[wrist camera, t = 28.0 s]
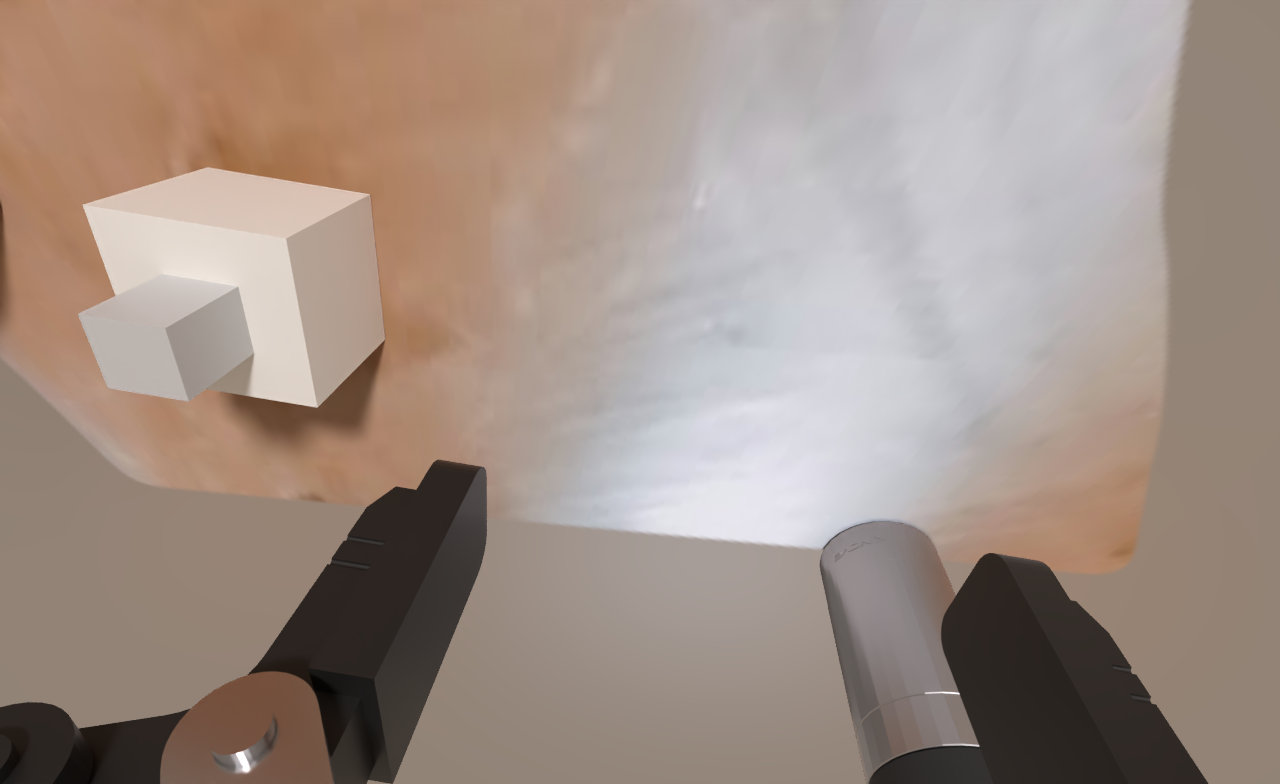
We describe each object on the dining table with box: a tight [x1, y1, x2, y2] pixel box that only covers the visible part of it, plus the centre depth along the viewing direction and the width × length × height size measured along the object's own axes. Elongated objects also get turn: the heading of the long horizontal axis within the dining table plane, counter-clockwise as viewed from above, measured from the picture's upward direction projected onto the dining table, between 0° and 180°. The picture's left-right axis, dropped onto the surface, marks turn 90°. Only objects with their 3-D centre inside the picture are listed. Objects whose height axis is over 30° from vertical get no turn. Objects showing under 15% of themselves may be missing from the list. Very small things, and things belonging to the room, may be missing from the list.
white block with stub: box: [78, 167, 385, 408], centre depth 34 cm, size 10×10×14 cm
